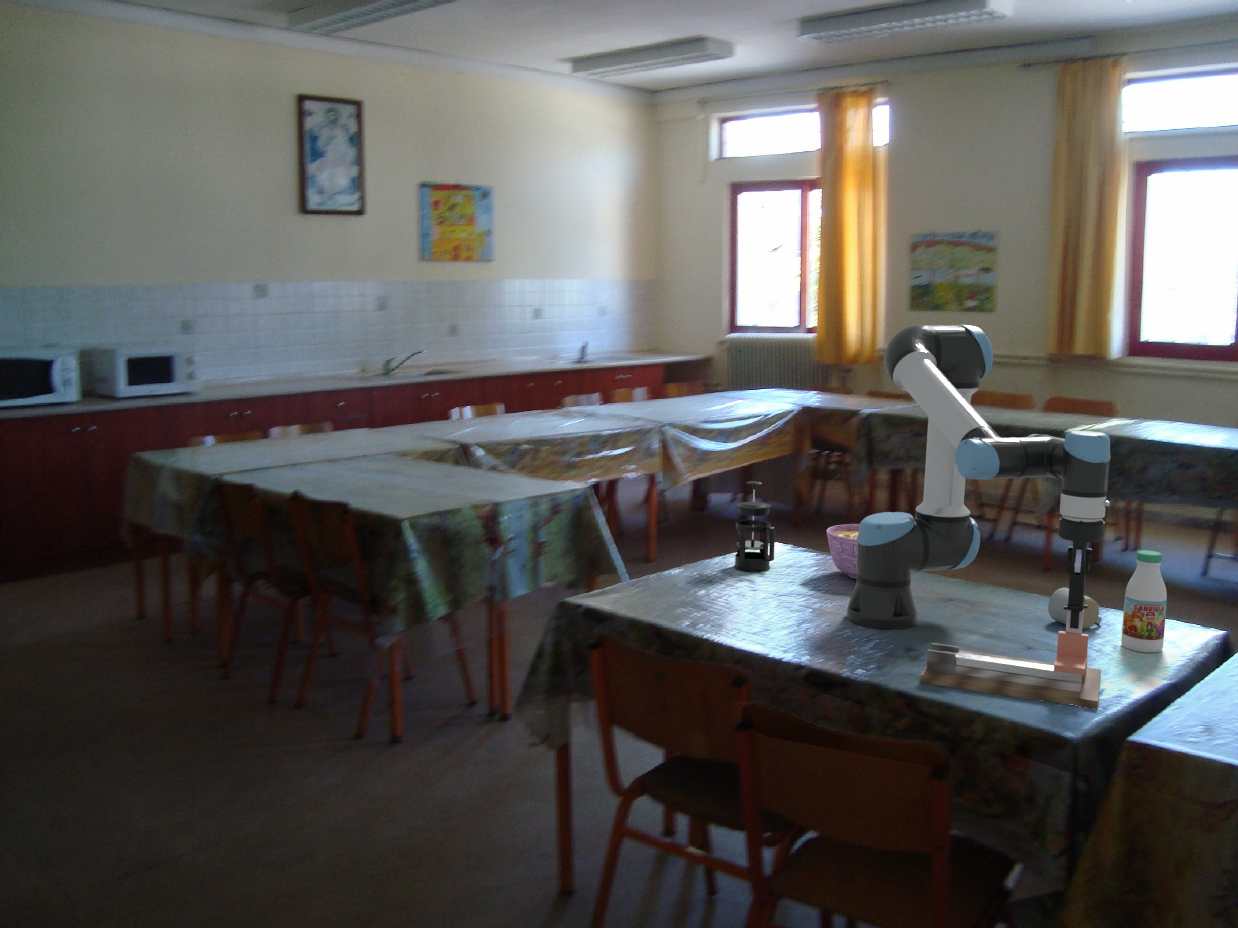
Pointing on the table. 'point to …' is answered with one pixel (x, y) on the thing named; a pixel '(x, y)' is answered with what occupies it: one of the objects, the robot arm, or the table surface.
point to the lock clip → (1071, 653)
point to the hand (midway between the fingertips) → (1073, 643)
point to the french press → (753, 559)
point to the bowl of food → (844, 547)
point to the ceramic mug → (1060, 614)
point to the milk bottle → (1145, 605)
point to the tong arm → (1013, 666)
